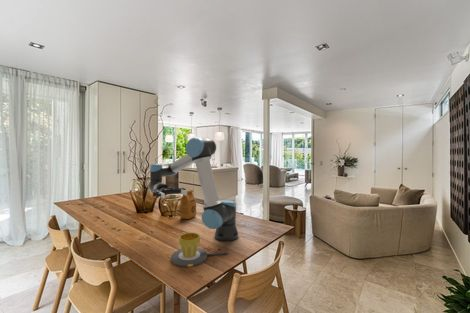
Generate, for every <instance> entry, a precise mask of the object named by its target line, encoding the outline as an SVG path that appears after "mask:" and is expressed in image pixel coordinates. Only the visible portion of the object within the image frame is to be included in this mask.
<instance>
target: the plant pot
mask: <svg viewBox="0 0 470 313" xmlns="http://www.w3.org/2000/svg"><path fill="white" fill-rule="evenodd" d="M200 238H201V237H200V234H198V233H196V232H186V233H182V234H181V235H179V236H178V241H179V242H178V243H179V246H180V247H181V248H180V249H182V253H183V256H184V257H187V258H190V257H194V256H195V255H196V252H197V248H199V247H198V246H199V243H200V240H201V239H200Z"/></svg>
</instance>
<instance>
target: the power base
mask: <svg viewBox="0 0 470 313" xmlns="http://www.w3.org/2000/svg"><path fill="white" fill-rule="evenodd" d="M228 254H229V252H228V251H225V252H214V253H208V252H207V251H206V250H205V249H203V248H201V247H197V252H196V255H195V256H194V257H190V258H187V257H184V256H183V253H182V248H179V249H177V250H176V251H173V253H172V254H171V257H170V258H171V260H170V261H171V263H172V264H174V266H178V267H182V268H191V267H195V266H199V265H201V264H203V263H205V262H206V260H207V258H208V257H212V256H219V255H220V256H222V255H228Z"/></svg>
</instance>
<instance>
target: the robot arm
mask: <svg viewBox="0 0 470 313" xmlns="http://www.w3.org/2000/svg"><path fill="white" fill-rule="evenodd" d="M216 151H217V144H216V142H215V141H214V139H211V138H209V137H200V136H198V137H196V136H195V137H191V138H190V139H189V140H188V141H187V143H186V146H185V152H186V154H185V155H183V156H181V157H180V158H179V159H176V160H175V161H173V162H171V163H170V164H168V165H163V164H162V163H151V164H150V168H149V173H150V174H149V176H150V177H149V179H150V181H149V183H148V190H149V191H151V192H152V197H154V198H155V197H156V198H157V199H158V198H159V197H160V198H161V199H163V200H164V199H165V196H166V195H169V194H181V195H182V196H183V195H186V196H187V191H188V190H186V188H184V187H182V188H181V187H175V186H174V187H170V186H169V185H168V184H166V183H163V178H164V177H171V176H175V175H177V174H178V173H179V172H180V171H182V170H184V169H185V168H188V167H190V166H191V165H193V164H195V167H196V172H197V175H198V180H199V184H200V188H201V191H202V192H201V193H202V198H203V201H204V205H203V208H202V209H203V212H202V214H201V221H202V223H203V225H204V226H205V227H206V228H208V229H210V230H215V232H214V238H215V240H217V241H221V242H231V241H235V240H237V239H238V238H239V231H238V228H237V225H236V224H237V223H236V222H237V221H236V220H237V219H236V218H237V215H236V214H237V203H236V202H235V201H234V200H226V199H225V200H223V199H221V200H220V197H219V193H218V190H217V189H218V188H217V185H216V181H215V177H214V172H213V168H212V164H211V159H212V156H213V155H214V154H216Z"/></svg>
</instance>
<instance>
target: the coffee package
mask: <svg viewBox="0 0 470 313" xmlns="http://www.w3.org/2000/svg"><path fill="white" fill-rule="evenodd" d="M186 191H187V196H186V195H183V194H182V196H181V198H180V207H179V208H180V211H179V212H180V219H183V220H185V219H186V220H189V219H191V218H195V217H196V216H197V201H196V198H195V196H194V194H193V192H194V190H193V189H192V190H186Z"/></svg>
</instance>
